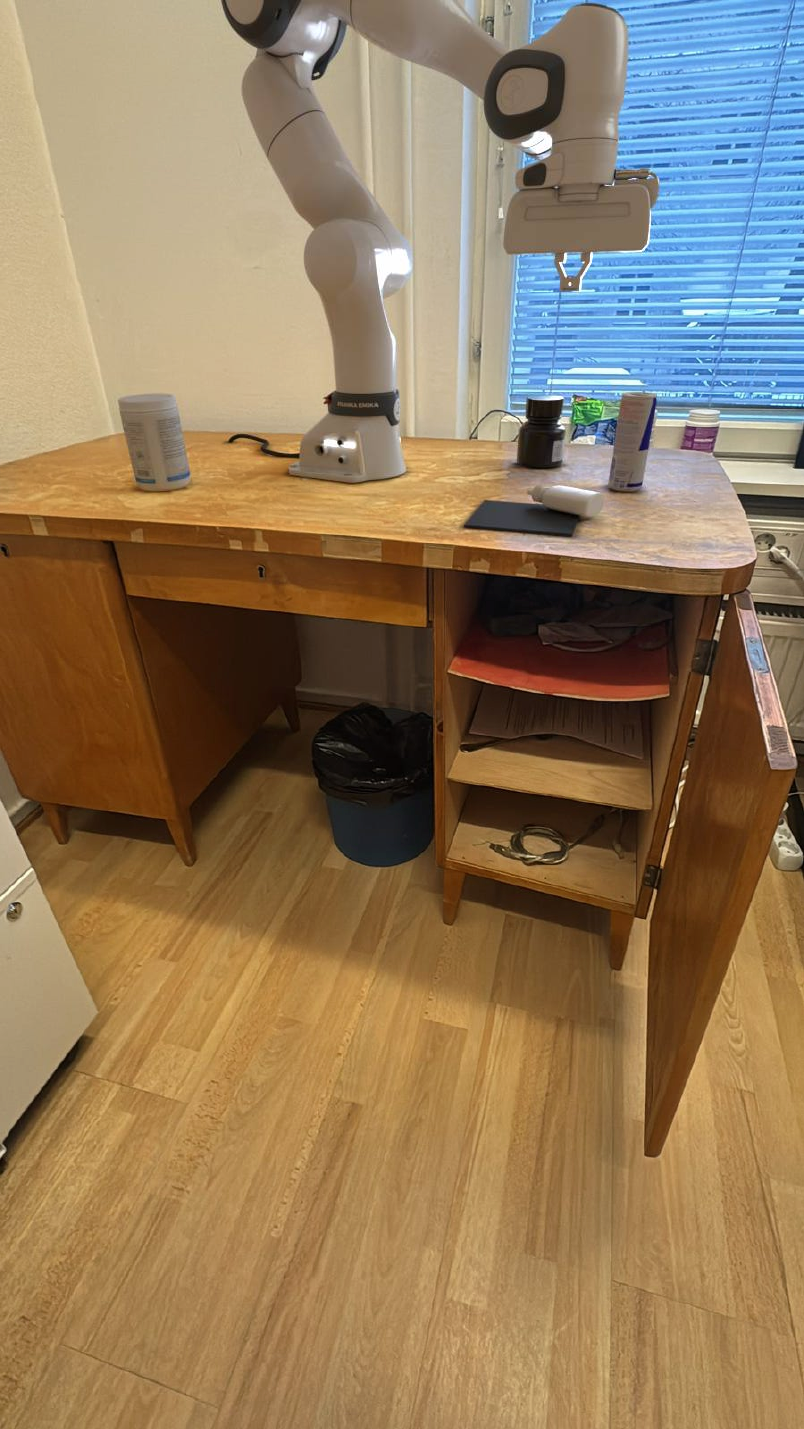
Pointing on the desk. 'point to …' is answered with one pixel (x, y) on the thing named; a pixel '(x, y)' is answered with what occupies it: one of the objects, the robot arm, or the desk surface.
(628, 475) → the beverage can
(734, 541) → the desk surface
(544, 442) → the ink bottle
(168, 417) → the supplement tub
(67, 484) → the desk surface
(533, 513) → the mat
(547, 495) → the eye dropper bottle
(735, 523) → the desk surface
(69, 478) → the desk surface
